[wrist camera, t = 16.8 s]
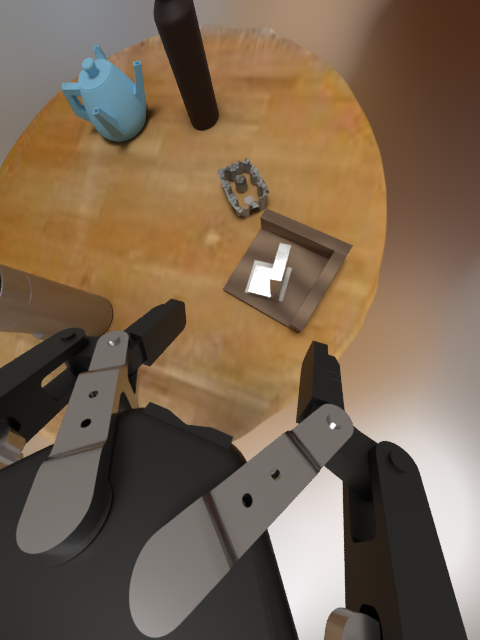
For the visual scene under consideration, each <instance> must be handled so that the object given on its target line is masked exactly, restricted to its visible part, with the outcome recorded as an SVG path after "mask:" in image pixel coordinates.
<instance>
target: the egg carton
mask: <svg viewBox="0 0 480 640" xmlns="http://www.w3.org/2000/svg"><path fill="white" fill-rule="evenodd" d="M243 172H246V173H247V174H250V179H251V183H252V184H253V185H257V192H258V196H260V197H261V198H260V200H259V202H258V201H254V198H253V197H252V196H246V197H245V198H244V200H243V202H244V204H245V205H249V208H248V209H246V210H244V208H242V207H241V206H240V207H239V203H238V199H237V197H236V195H235V194H233V193H232V189H231V184H230V182H229V180H232V181H235V185H236V189H237V192H239V193H244V192H245V191H246V190H247V182H246V177H245V176H244V175H241V173H243ZM218 174H219V177H220V180H221V183H222V186H223V187H224V190H225V192H226V195H227V197H228V200H229V201H230V203H231V205H232V206H233V207H234V208H235V210H236V214H237V215H238V216H244V217H245V218H246V217H249V216H250V211H251V210H252V209H253V208H259V209H260V210H262V209H264V208H265V203H266V202H267V196H268V195H267V194H268V193H269V191H268V188H267V185H266V183H265V182H264V180H263V179H262V177H261V176H260V174H259V172H258V170H257V169H256V168H255V166H253V164H251V163H250V160H249V159H248V158H245V160H244V161H243V162H240V161H238V162H237V163H235V164H232V165H229V166H227V167H226V168H224V169H219V170H218Z"/></svg>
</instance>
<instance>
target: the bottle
mask: <svg viewBox="0 0 480 640" xmlns="http://www.w3.org/2000/svg"><path fill="white" fill-rule="evenodd" d="M154 20H155V23H156V26H157V29H158V31H159V34H160V37H161V40H162V43H163V45H164V48H165V51H166V54H167V57H168V59H169V62H170V65H171V68H172V71H173V73H174V76H175V79H176V82H177V85H178V87H179V90H180V93H181V96H182V99H183V101H184V104H185V107H186V110H187V112H188V115H189V118H190V121H191V123H192V125H193V126H194V127H195V128H197V129H200V130H201V129H207V128H209V127H211V126H212V125H213V124H214V123H215V122H216V120H217V119H218V115H219V114H218V108H217V103H216V99H215V95H214V90H213V86H212V82H211V77H210V73H209V68H208V64H207V60H206V55H205V51H204V47H203V42H202V38H201V33H200V29H199V25H198V20H197V16H196V11H195V7H194V3H193V0H155V4H154Z"/></svg>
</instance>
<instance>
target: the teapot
mask: <svg viewBox="0 0 480 640" xmlns="http://www.w3.org/2000/svg"><path fill="white" fill-rule="evenodd" d="M94 52H95V54H96V57H97V60H95V61H94V60H93V59H92V58H87V59H85V60H84V61H83V63H82V68H83V70H82V71H81V73H80V75H79V79H78V83H62V89H61V90H62V92H63V93H64V95H65V97H66V99H67V101H68V102H69V104H70V106H71V108H72V110H73V111H74V113H75V115H76V116H78V117H80V118H83V119H85V120H87V121H89V122H91V123H93V125H94V127H95V128H96V130H97V131H98V132H99V133H100V134H101V135H102V136H103V137H105V138H107V139H109V140H112V141H115V142H124V141H127V140H130V139H132V138H133V137H135V136H136V135H137V134H138V133H139V132H140V131H141V130H142V128H143V126H144V124H145V121H146V101H145V92H144V83H143V75H142V66H141V61H140V60H139V61H134V62H133V65H134V72H135V84H134V83H133V82H132V81H131V79H130V78H129V77H128V76H127V75H125V74H124V73H123V72H122V71H121V70H120V69H118V68H117V67H116V66H115V65H114V64H112V63H111V62H109V61H108V60H107V58H106V56H105V55H104V53H103V51H102V50H101V48H100V46H99V45H96V46H94ZM76 96H81V97H82V100H83V103H84V106H83V105H81V103H80V102H79V100H78V98H77V97H76Z"/></svg>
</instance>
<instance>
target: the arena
mask: <svg viewBox="0 0 480 640" xmlns="http://www.w3.org/2000/svg"><path fill="white" fill-rule="evenodd" d="M260 218H261V230H260V231H259V233H258V234H257V236H256V237H255V239H254V241H253V242H252V244H251V245H250V247H249V249H248V250H247V252H246V253H245V255H244V257H243V258H242V260H241V261H240V263H239V264H238V266H237V268H236V269H235V271H234V272H233V274H232V276H231V277H230V279H229V280H228V282H227V283H226V285H225V287H224V288H223V290H224V291H226V292H228V293H229V294H231V295H233V296H235V297H236V298H238V299H240V300H242V301H243V302H245V303H247V304H248V305H250V306H252V307H254V308H255V309H257V310H259V311H261V312H262V313H264V314H266V315H268V316H269V317H271V318H273V319H275V320H276V321H278V322H280V323H282V324H283V325H285V326H287V327H288V328H290V329H292V330H294V331H295V332H297V333H299V332H301V331H302V330H303V328H304V326H305V325H306V323H307V321H308V320H309V318H310V316H311V315H312V313H313V311H314V310H315V308H316V306H317V305H318V303H319V301H320V300H321V298H322V296H323V295H324V293H325V291H326V290H327V288H328V286H329V285H330V283H331V281H332V280H333V278H334V276H335V275H336V273H337V271H338V270H339V268H340V266H341V265H342V263H343V261H344V259H345V258H346V256H347V254H348V253H349V251H350V249H351V248H352V246H353V245H350V244H348V243H346V242H343V241H341V240H339V239H336V238H334V237H332V236H329V235H327V234H325V233H322V232H320V231H318V230H315V229H313V228H311V227H308V226H306V225H304V224H302V223H299V222H297V221H295V220H292V219H290V218H288V217H285V216H283V215H281V214H278V213H276V212H274V211H271V210H269V209H267V208H266V210H265V211H264V213H263V214H262V216H261V217H260ZM280 243H282V244H287V245H291V250H290V256H289V262H288V268H287V273H286V278H285V281H284V285H283V288H282V292H281V295H280V299H279V301H276V300H272V299H268V298H264V297H260V296H256V295H252V294H249V292H248V290H249V287H250V284H251V281H252V277H253V274H254V271H255V268H256V265H258V266H262V267H267V268H273V265H274V262H275V258H276V255H277V251H278V248H279V245H280Z"/></svg>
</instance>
